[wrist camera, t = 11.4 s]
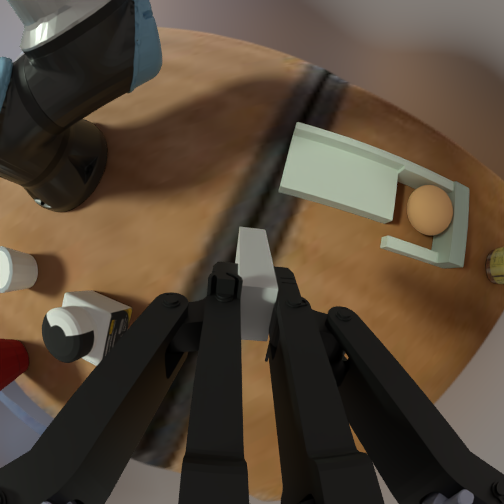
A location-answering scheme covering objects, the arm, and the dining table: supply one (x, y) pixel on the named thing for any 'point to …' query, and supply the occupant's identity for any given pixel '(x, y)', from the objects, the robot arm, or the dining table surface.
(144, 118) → the dining table surface
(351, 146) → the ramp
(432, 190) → the ball
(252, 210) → the dining table surface
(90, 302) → the medicine bottle
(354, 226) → the dining table surface
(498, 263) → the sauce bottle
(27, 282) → the white tapered cup
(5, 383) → the plastic cup
